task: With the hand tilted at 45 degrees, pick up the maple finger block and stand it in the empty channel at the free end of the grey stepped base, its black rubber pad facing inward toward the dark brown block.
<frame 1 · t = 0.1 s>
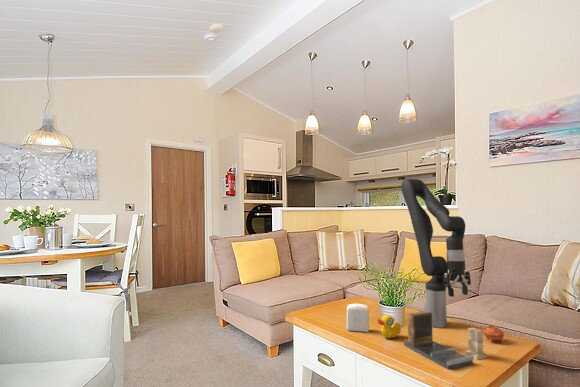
hand: (458, 295, 157), 17 cm above the table, tool pointing down, fingers open, 8 cm apart
pot: (493, 341, 148), on the table
dark brown block: (420, 342, 143), resting on grey stepped base
maple finger: (475, 355, 133), on the table
photo printer: (357, 330, 161), on the table
grey stepped base: (436, 354, 135), on the table
duckling: (389, 338, 152), on the table
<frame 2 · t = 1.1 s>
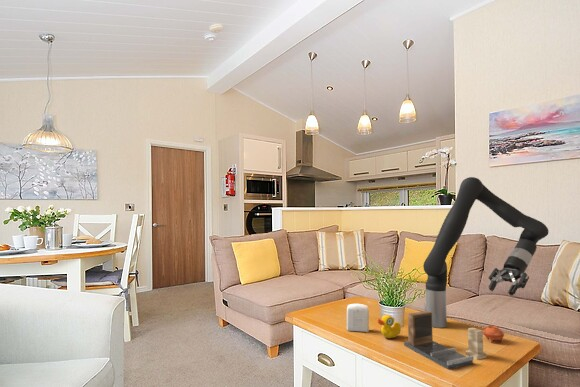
hand: (500, 291, 140), 23 cm above the table, tool tilted 45°, fingers open, 8 cm apart
nothing on the table moved.
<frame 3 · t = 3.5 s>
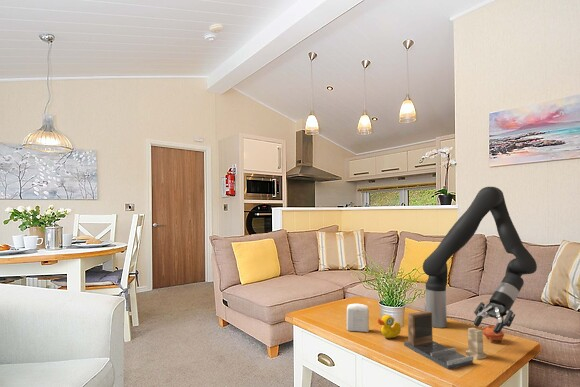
hand: (485, 328, 136), 10 cm above the table, tool tilted 45°, fingers open, 8 cm apart
nothing on the table moved.
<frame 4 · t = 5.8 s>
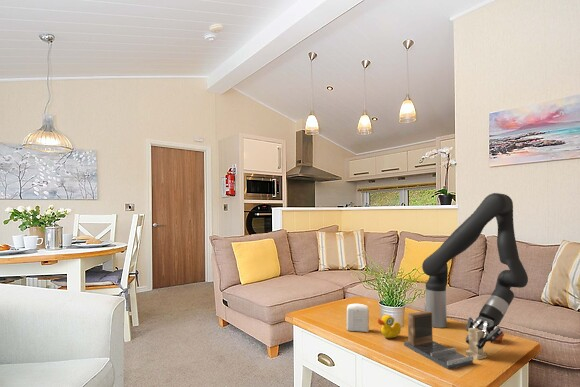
hand: (472, 345, 133), 4 cm above the table, tool tilted 45°, fingers closed on maple finger, 4 cm apart
maple finger: (476, 355, 133), on the table, touching gripper
everything else where it was.
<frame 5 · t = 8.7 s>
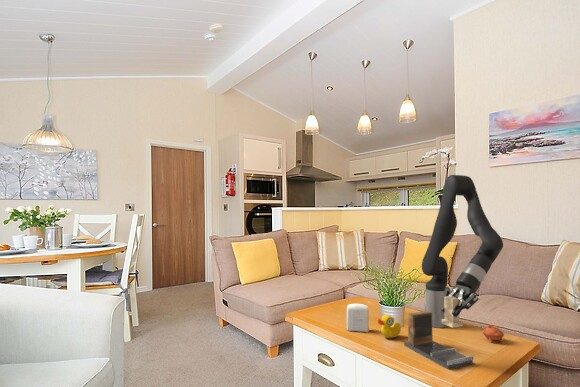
hand: (448, 313, 128), 18 cm above the table, tool tilted 45°, fingers closed on maple finger, 4 cm apart
maple finger: (451, 324, 128), point 14 cm above the table, touching gripper
everything else where it was.
when the fingers open (7 cm above the table, at t = 11.7 s): maple finger stays where it is, resting on grey stepped base.
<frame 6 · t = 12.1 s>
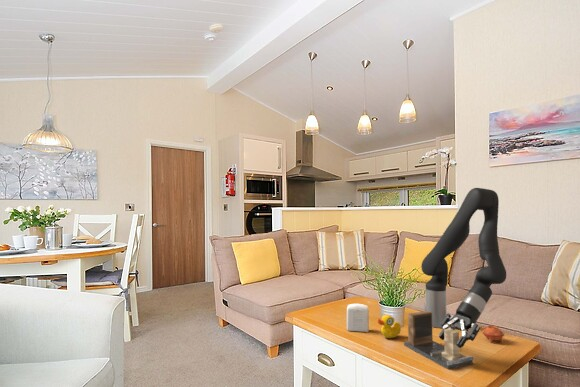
hand: (449, 342, 128), 7 cm above the table, tool tilted 45°, fingers open, 7 cm apart
maple finger: (452, 357, 128), point 1 cm above the table, touching grey stepped base
everything else where it was.
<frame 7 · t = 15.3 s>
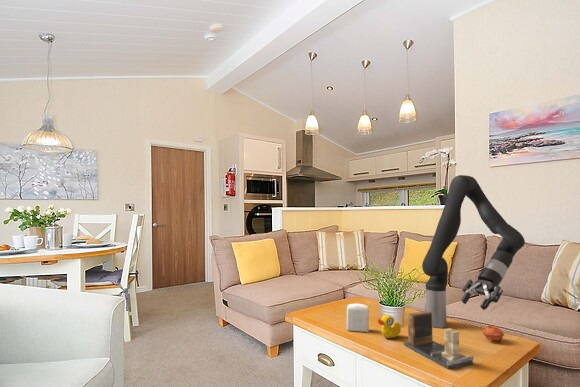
hand: (472, 305, 133), 20 cm above the table, tool tilted 45°, fingers open, 8 cm apart
nothing on the table moved.
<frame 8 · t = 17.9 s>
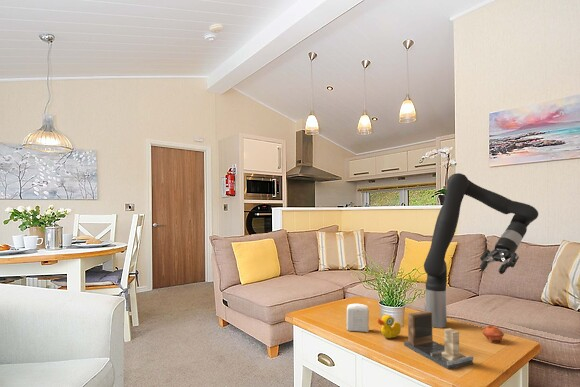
hand: (490, 271, 145), 31 cm above the table, tool tilted 45°, fingers open, 8 cm apart
nothing on the table moved.
at the end: maple finger 0.1 cm from the target spot on the grey stepped base, point 1.5 cm above the grey stepped base's base; maple finger tilted 0°; the gripper is holding nothing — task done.
